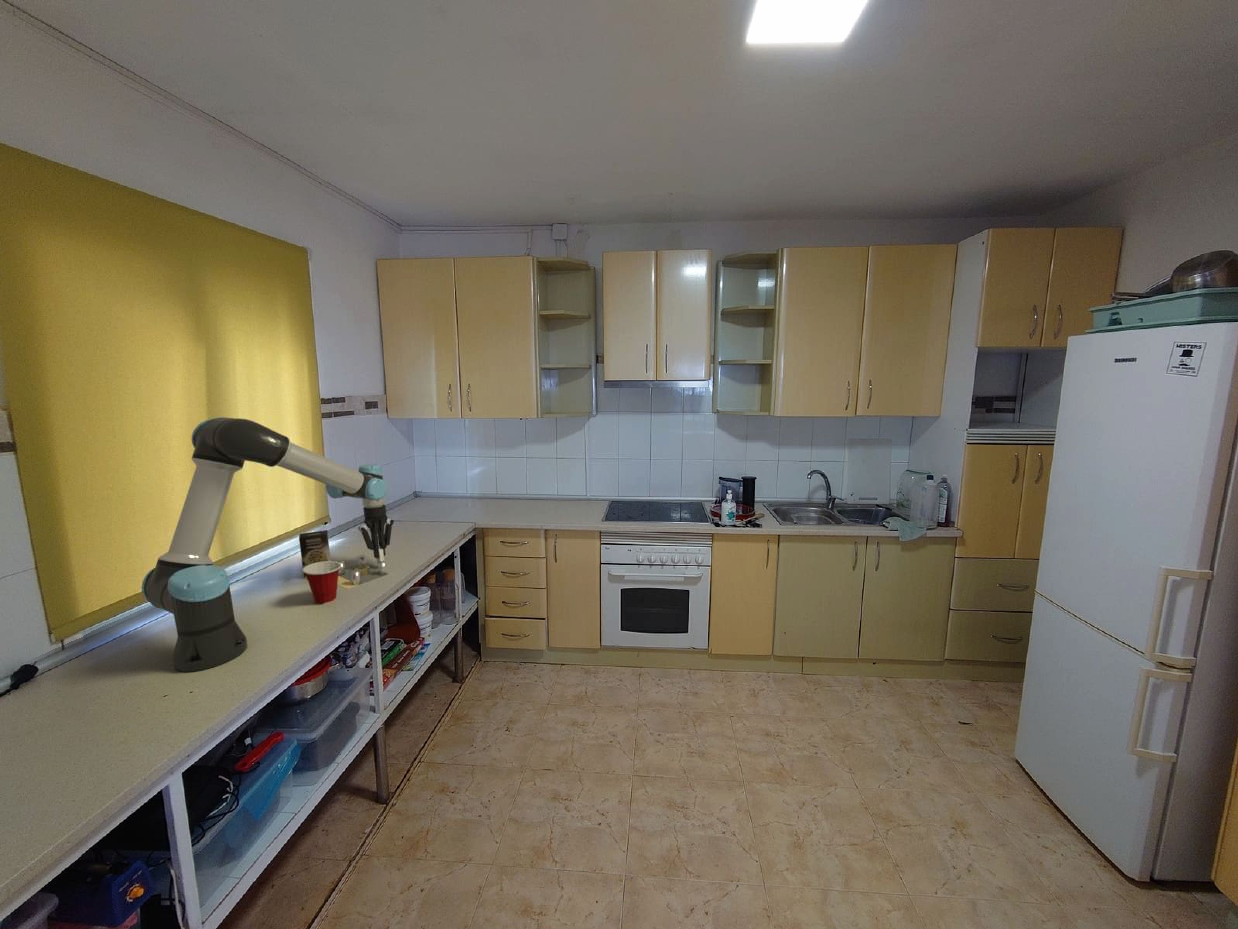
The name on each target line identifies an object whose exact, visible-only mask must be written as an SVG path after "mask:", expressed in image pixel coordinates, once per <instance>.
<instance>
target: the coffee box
mask: <svg viewBox="0 0 1238 929" xmlns="http://www.w3.org/2000/svg"><path fill="white" fill-rule="evenodd" d="M328 533H329V532H328V529H325V530H318V531H311V532H305V533H304V532H303V533H299V537H298V540H299V548H300V549H299V550H300V556H301V563H302V564H301V565H302V569H303V568H304V567H306V566H308V565H310V564H313V563H317V562H323V561H332V559H331V551H330V543H329V534H328ZM302 573H303V579H304V580H307V577H306V575H305V573H304V572H303V571H302Z"/></svg>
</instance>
